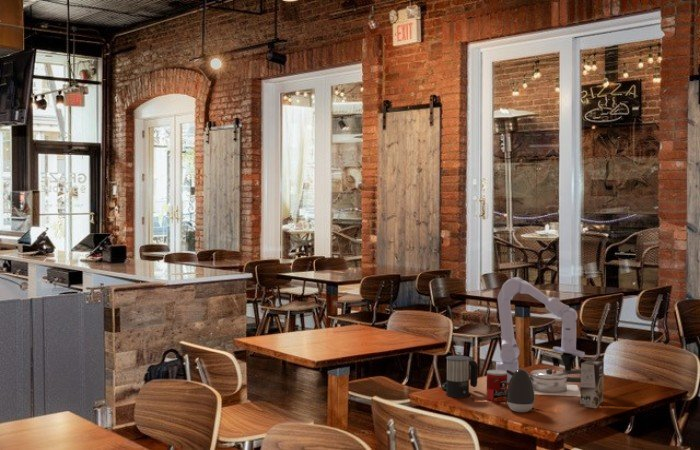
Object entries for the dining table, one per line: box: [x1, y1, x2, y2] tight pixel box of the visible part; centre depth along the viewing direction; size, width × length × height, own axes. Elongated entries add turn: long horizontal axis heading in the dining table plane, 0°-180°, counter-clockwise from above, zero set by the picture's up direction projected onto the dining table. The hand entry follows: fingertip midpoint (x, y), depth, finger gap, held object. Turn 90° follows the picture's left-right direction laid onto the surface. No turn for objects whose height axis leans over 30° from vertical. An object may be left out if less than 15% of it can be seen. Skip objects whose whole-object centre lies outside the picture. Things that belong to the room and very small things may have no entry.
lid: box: [530, 368, 581, 379], centre depth 331 cm, size 22×14×2 cm, turn 105°
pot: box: [529, 374, 581, 393], centre depth 329 cm, size 25×14×6 cm, turn 81°
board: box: [534, 384, 581, 397], centre depth 330 cm, size 20×20×1 cm
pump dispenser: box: [505, 368, 536, 413], centre depth 299 cm, size 10×10×15 cm
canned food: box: [486, 369, 508, 404], centre depth 314 cm, size 8×8×11 cm
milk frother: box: [440, 355, 479, 399], centre depth 326 cm, size 14×16×15 cm
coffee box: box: [579, 359, 605, 409], centre depth 309 cm, size 9×6×16 cm
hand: (567, 372), depth 334 cm, fingers closed, pressing on lid
